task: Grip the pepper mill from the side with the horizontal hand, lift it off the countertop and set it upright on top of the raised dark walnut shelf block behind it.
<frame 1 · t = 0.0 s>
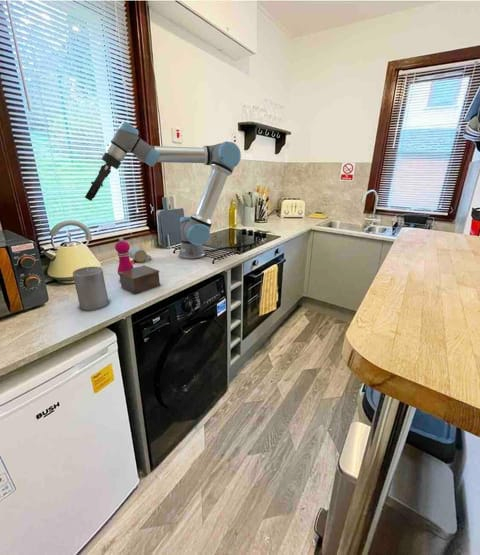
hand: (89, 197, 122), 36 cm above the table, tool tilted 35°, fingers open, 13 cm apart
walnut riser: (141, 286, 120), on the table
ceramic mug: (141, 260, 155), on the table
pepper mill: (127, 280, 126), on the table
pillar candle: (94, 305, 104), on the table
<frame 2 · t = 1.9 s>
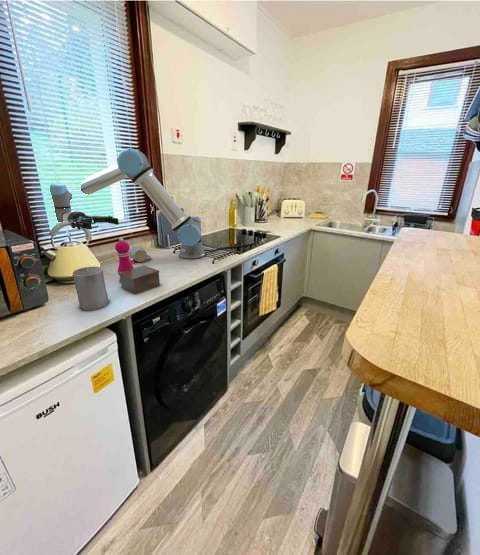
hand: (104, 223, 121), 25 cm above the table, tool horizontal, fingers open, 13 cm apart
nothing on the table moved.
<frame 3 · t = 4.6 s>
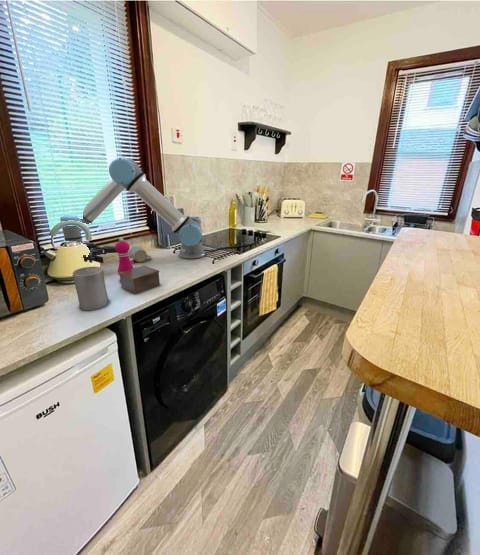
hand: (115, 256, 125), 11 cm above the table, tool horizontal, fingers open, 13 cm apart
nothing on the table moved.
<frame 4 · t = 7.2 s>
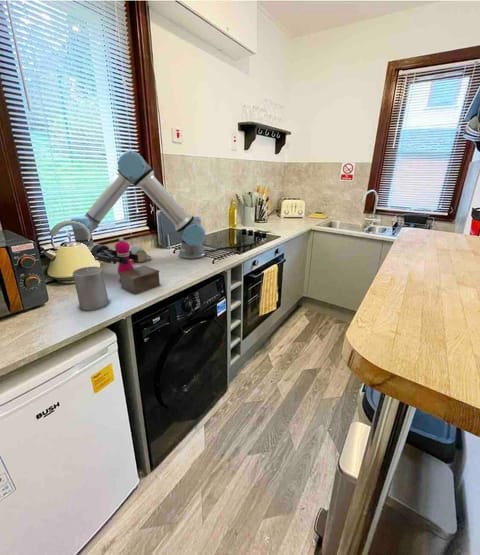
hand: (132, 259, 120), 11 cm above the table, tool horizontal, fingers closed on pepper mill, 5 cm apart
pepper mill: (127, 280, 126), on the table, touching gripper
everything else where it was.
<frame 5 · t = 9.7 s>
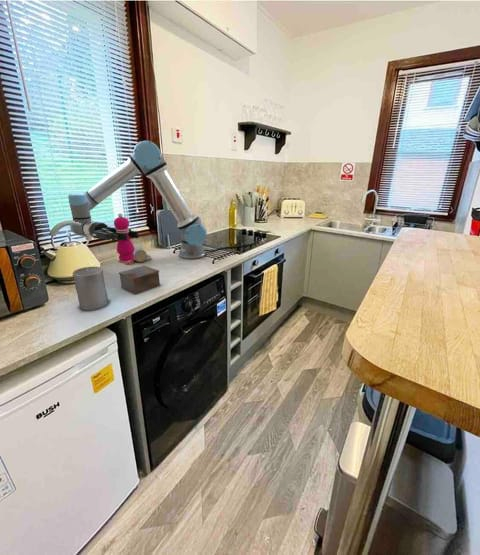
hand: (131, 236, 114), 22 cm above the table, tool horizontal, fingers closed on pepper mill, 5 cm apart
pepper mill: (127, 259, 121), point 11 cm above the table, touching gripper
everything else where it was.
when the fingers open (18 cm above the table, at t = 12.5 s): pepper mill stays where it is, resting on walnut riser.
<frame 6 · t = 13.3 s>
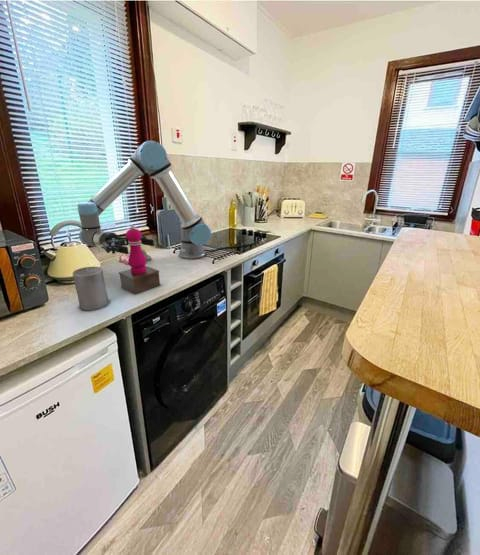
hand: (141, 246, 112), 18 cm above the table, tool horizontal, fingers open, 13 cm apart
pepper mill: (138, 271, 117), point 7 cm above the table, touching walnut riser
everything else where it was.
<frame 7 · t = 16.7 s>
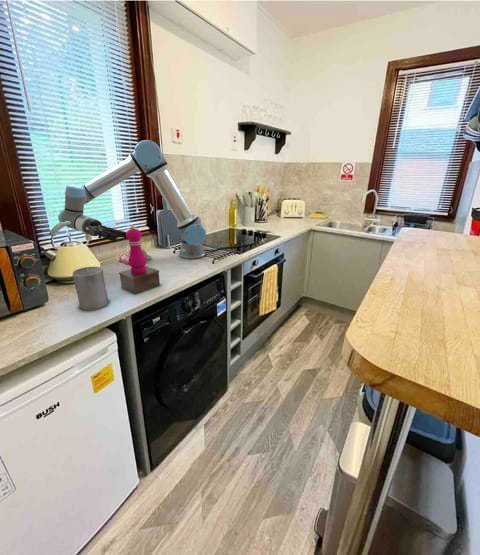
hand: (127, 239, 120), 19 cm above the table, tool horizontal, fingers open, 13 cm apart
nothing on the table moved.
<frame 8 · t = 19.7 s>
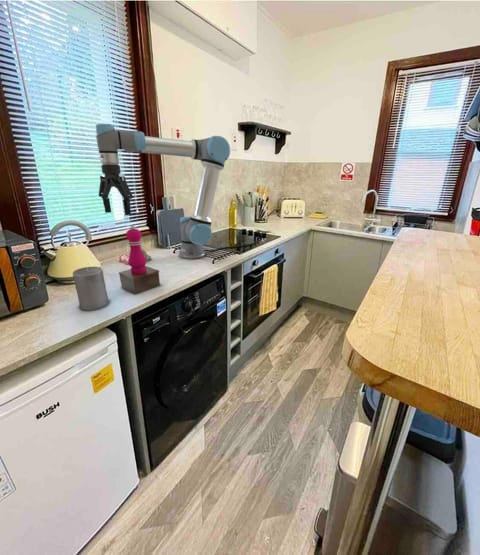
hand: (118, 213, 127), 29 cm above the table, tool pointing down, fingers open, 13 cm apart
nothing on the table moved.
at the end: pepper mill inside the target area on the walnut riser (0.0 cm from its centre), point 6.8 cm above the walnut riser's base; pepper mill tilted 0° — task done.
